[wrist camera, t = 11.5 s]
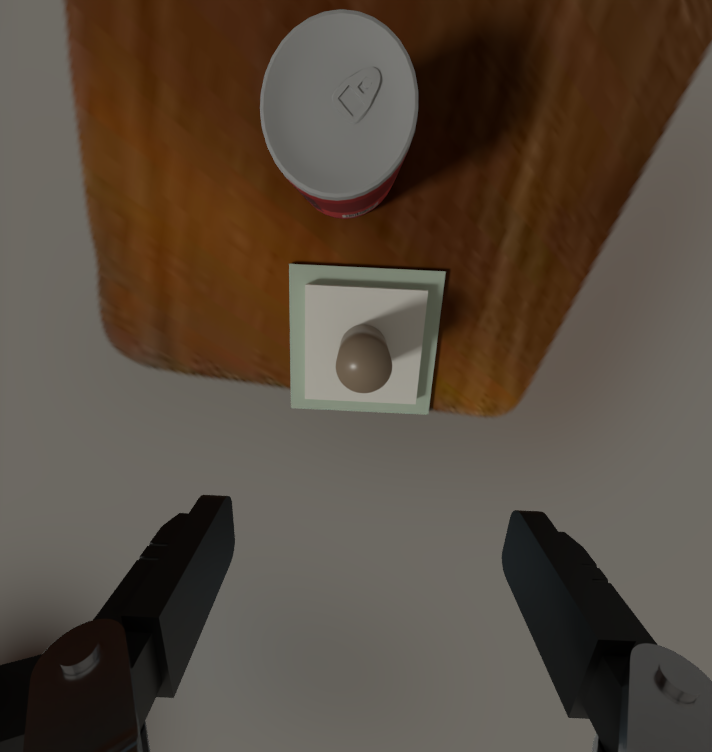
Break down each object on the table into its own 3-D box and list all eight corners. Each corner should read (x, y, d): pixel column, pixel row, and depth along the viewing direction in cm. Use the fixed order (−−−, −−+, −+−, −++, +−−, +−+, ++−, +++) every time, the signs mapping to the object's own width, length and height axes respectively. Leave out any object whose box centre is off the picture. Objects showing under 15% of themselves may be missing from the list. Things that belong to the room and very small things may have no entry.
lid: (307, 283, 30) (292, 290, 23) (425, 289, 30) (443, 298, 24) (306, 394, 33) (293, 427, 27) (413, 399, 33) (426, 433, 27)
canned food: (416, 143, 27) (452, 71, 17) (362, 239, 29) (363, 230, 19) (329, 81, 26) (308, -38, 15) (279, 186, 28) (232, 145, 18)
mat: (290, 263, 30) (289, 263, 29) (444, 271, 30) (445, 271, 29) (291, 405, 34) (290, 408, 34) (427, 412, 34) (428, 414, 34)
